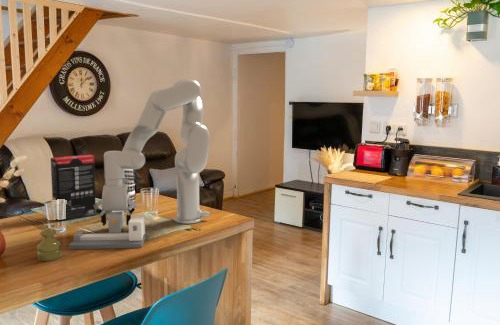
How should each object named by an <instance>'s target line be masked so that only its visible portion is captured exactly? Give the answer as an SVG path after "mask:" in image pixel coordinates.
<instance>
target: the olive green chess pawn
mask: <svg viewBox="0 0 500 325" xmlns="http://www.w3.org/2000/svg"><path fill="white" fill-rule="evenodd" d="M55 234H57V230H56V229H54V228H51V227H45V229H42V230H41V231H39V235H40V236H42V237H43V239H42V241H40V243H38V244H37V245H36V250H37V253H36V254H37V260H38V261H40V262H52V261H56V260H58V259H60V258H61V257H62V256H63V255H62V254H63V253H62V252H63V251H62V243H61V242H60V241H59V240H57V239H55V238H54V236H55Z"/></svg>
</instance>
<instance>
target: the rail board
mask: <svg viewBox="0 0 500 325" xmlns="http://www.w3.org/2000/svg"><path fill="white" fill-rule="evenodd" d="M147 236H148V232H147V231H146V220H145V215H131V219H130V221H129V225H128V232H127V231H125V232H122V231H121V232H120V233H109V232H86V233H84V230H78V231H76V232H75V233H74V234H73V240H72V241H71V242H70V243H69V244H68V249H69V250H96V249H101V250H102V249H104V250H105V249H128V248H129V249H136V248H141V249H142V248H143V245H144V243H145V242H146V239H147Z"/></svg>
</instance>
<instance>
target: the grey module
mask: <svg viewBox="0 0 500 325" xmlns="http://www.w3.org/2000/svg"><path fill="white" fill-rule="evenodd" d="M107 222H108V223H107V224H108V233H120V232H122V229H124V228H126V227H125V225H126V224H125V211H110V213H109V215H108V216H107Z"/></svg>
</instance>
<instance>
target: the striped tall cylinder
mask: <svg viewBox="0 0 500 325" xmlns="http://www.w3.org/2000/svg"><path fill="white" fill-rule="evenodd" d="M134 173H136V170H135V169H124V177H125V179H128V183H125V184H126V185H127V187H128V193H129V199H130V200H131V201H133V202H135V203H137V200H136V191H135V185H136V182H135V180H136V175H135V174H134ZM128 208H129V209H130V210H131V209H132V208H133V205H131V204H129V207H128Z"/></svg>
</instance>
